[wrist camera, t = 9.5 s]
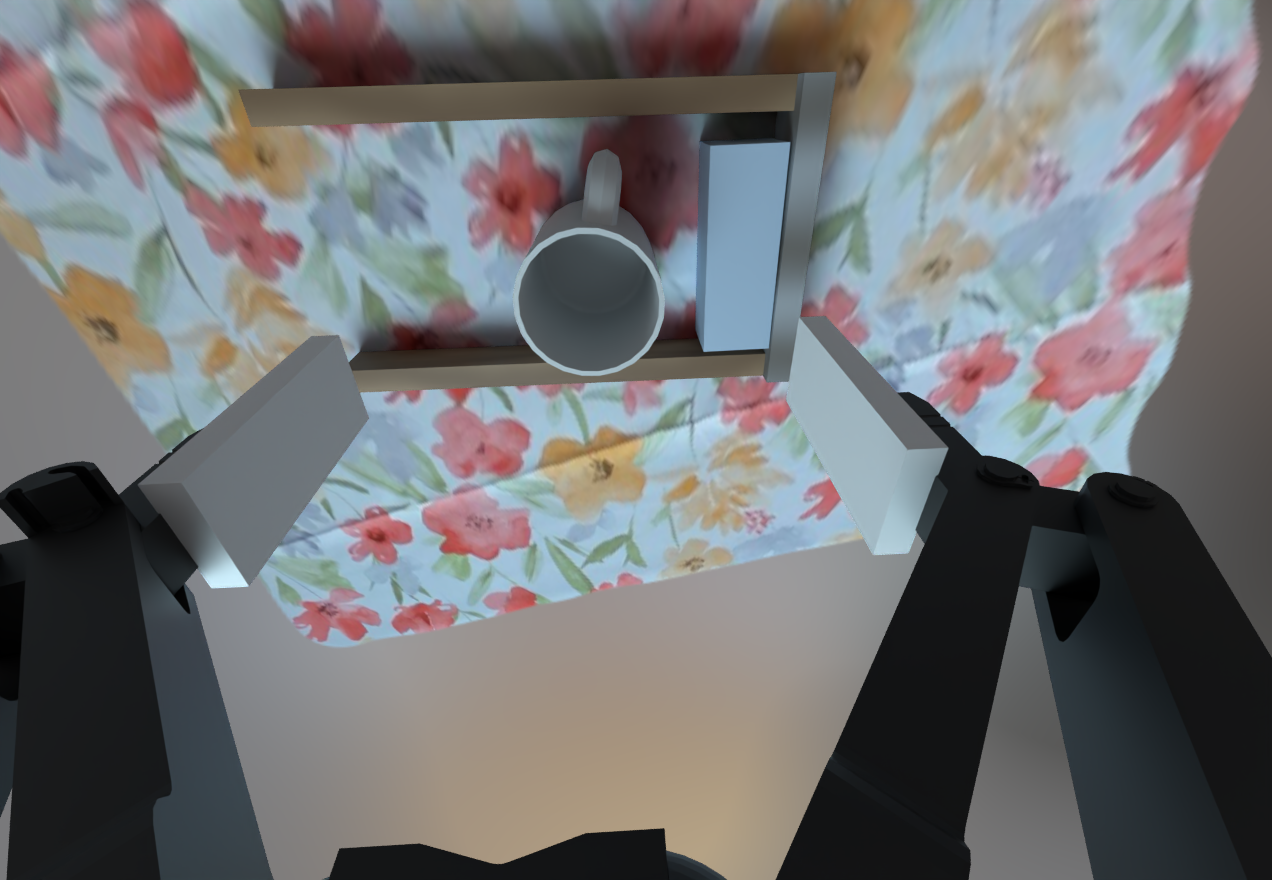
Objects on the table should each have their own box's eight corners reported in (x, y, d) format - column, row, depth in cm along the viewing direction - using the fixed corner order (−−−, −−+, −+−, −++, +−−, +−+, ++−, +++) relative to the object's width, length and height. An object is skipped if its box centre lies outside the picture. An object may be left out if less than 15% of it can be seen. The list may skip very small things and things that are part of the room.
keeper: (710, 145, 26) (790, 142, 26) (699, 141, 30) (770, 137, 30) (703, 351, 32) (768, 348, 32) (694, 328, 35) (753, 325, 36)
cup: (531, 308, 34) (510, 366, 26) (541, 131, 29) (518, 141, 21) (641, 323, 35) (650, 384, 27) (670, 154, 30) (692, 172, 22)
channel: (272, 90, 27) (225, 89, 24) (809, 75, 28) (836, 71, 24) (366, 372, 36) (341, 400, 32) (773, 355, 36) (790, 381, 33)
